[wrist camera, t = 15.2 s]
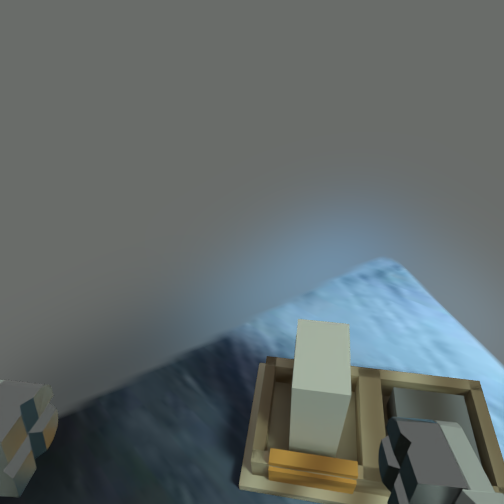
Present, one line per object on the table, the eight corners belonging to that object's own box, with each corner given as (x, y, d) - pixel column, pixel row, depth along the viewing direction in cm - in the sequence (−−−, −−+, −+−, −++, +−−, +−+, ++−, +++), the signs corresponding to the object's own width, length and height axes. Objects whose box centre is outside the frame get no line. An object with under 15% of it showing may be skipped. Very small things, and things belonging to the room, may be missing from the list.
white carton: (288, 455, 34) (291, 387, 26) (293, 393, 39) (297, 318, 31) (334, 462, 34) (352, 395, 26) (334, 398, 38) (349, 324, 30)
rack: (239, 489, 33) (235, 469, 30) (259, 367, 42) (258, 343, 39) (513, 536, 30) (540, 520, 27) (473, 393, 39) (490, 369, 36)
